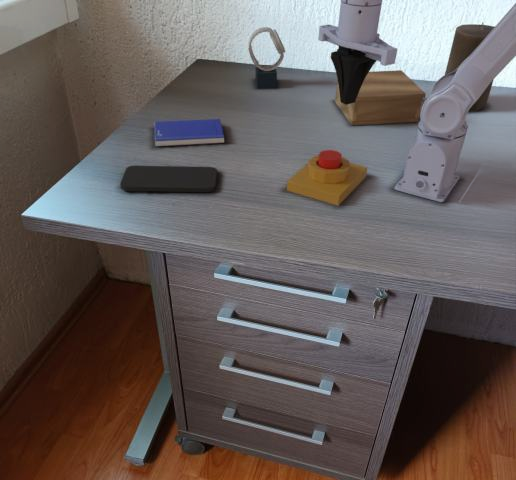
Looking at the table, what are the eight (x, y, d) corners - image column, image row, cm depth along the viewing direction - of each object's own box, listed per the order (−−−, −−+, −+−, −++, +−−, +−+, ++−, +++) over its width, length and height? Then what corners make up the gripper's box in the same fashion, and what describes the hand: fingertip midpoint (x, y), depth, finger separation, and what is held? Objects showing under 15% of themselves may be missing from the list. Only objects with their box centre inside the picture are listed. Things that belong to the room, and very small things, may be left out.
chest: (417, 121, 104) (423, 96, 100) (351, 125, 102) (354, 99, 99) (396, 98, 113) (400, 74, 109) (334, 101, 111) (337, 77, 108)
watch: (285, 88, 117) (287, 32, 109) (249, 88, 116) (249, 32, 108) (282, 79, 121) (284, 24, 113) (247, 80, 120) (247, 25, 112)
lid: (425, 97, 100) (426, 93, 99) (356, 101, 98) (356, 97, 98) (400, 74, 109) (401, 70, 109) (337, 77, 108) (337, 73, 107)
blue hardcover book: (154, 138, 93) (223, 135, 95) (154, 120, 99) (219, 117, 100) (155, 147, 94) (224, 143, 96) (155, 128, 100) (220, 125, 102)
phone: (214, 188, 82) (118, 186, 82) (214, 193, 83) (119, 191, 82) (217, 166, 87) (127, 165, 87) (217, 171, 88) (128, 169, 88)
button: (334, 172, 81) (335, 162, 80) (313, 167, 83) (314, 156, 81) (344, 163, 84) (345, 153, 82) (323, 158, 85) (324, 148, 84)
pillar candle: (467, 116, 106) (491, 32, 96) (428, 101, 111) (447, 20, 101) (495, 104, 110) (520, 23, 100) (456, 91, 116) (477, 13, 105)
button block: (338, 205, 80) (340, 184, 78) (286, 190, 84) (287, 169, 81) (366, 177, 87) (369, 156, 85) (317, 164, 90) (319, 144, 88)
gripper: (420, 9, 71) (399, 111, 80) (347, -12, 79) (336, 83, 89) (383, 16, 68) (365, 121, 77) (311, -7, 76) (303, 91, 86)
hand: (347, 102), depth 83 cm, fingers closed
